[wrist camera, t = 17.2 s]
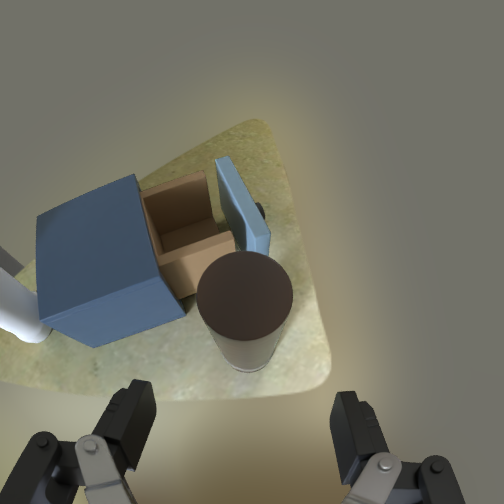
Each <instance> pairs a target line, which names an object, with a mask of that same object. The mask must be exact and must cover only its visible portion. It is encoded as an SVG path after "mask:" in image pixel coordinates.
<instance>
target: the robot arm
mask: <svg viewBox="0 0 504 504" xmlns="http://www.w3.org/2000/svg"><path fill="white" fill-rule="evenodd" d="M155 417H156V402H155V398H154V393H153V389H152V385H151V382H149V381H143V380H137V379H133V380H132V382H131V384H130V386H129V387H128V389H125V388H122V389H120V390H119V391H118V392H116V393H115V394H114V395H113V397H112V399H111V400H110V402H109V404H108V406H107V407H106V410H105V411H104V413H103V414H102V416H101V418H100V420H99V422H98V423H97V425H96V427H95V429H94V430H93V432H92V434H91V435H86V436H83V437H81V438H80V439H79V440H78V441H77V442H68V441H58V440H57V438H56V437H55V436H54V435H53V434H52V433H50V432H45V431H42V432H38V433H36V434H34V435H33V436H32V438H31V439H30V441H29V442H28V444H27V446H26V447H25V449H24V451H23V452H22V454H21V456H20V458H19V459H18V461H17V463H16V465H15V467H14V468H13V470H12V472H11V474H10V475H9V477H8V479H7V481H6V483H5V485H4V487H3V489H2V491H1V493H0V504H72V503H73V500H74V498H75V495H76V493H77V490H78V487H79V486H86V488H85V489H84V490H85V495H86V498H87V500H88V503H89V504H137V502H136V500H135V498H134V496H133V494H132V492H131V490H130V488H129V486H128V484H127V482H126V479H125V477H124V475H125V472H126V470H130V471H134V472H135V470H136V467H137V464H138V462H139V459H140V457H141V453H142V451H143V448H144V446H145V443H146V441H147V438H148V435H149V433H150V430H151V427H152V425H153V422H154V420H155ZM330 430H331V434H332V439H333V444H334V448H335V453H336V458H337V462H338V468H339V473H340V478H341V483H342V485H346V484H350V486H351V490H350V492H349V493H348V494H347V496H346V497H345V498H344V500H343V501H342V503H341V504H465V501H464V498H463V495H462V493H461V490H460V487H459V485H458V482H457V480H456V477H455V474H454V472H453V470H452V467H451V464H450V463H449V461H448V460H447V459H446V458H444V457H442V456H438V455H433V456H430V457H427V458H426V459H425V460H424V461H423V462H422V463H410V462H403V461H400V459H399V458H398V457H397V456H395V455H394V454H391V453H390V452H389V449H388V447H387V444H386V441H385V439H384V436H383V433H382V431H381V428H380V426H379V423H378V420H377V419H376V415H375V412H374V410H373V408H372V407H371V406H370V405H369V404H368V403H367V402H366V401H362V402H359V400H358V398H357V395H356V393H355V391H344V392H337V394H336V397H335V400H334V404H333V408H332V411H331V415H330Z"/></svg>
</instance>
